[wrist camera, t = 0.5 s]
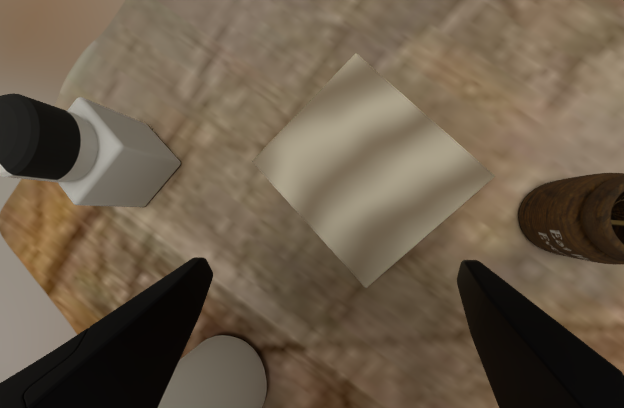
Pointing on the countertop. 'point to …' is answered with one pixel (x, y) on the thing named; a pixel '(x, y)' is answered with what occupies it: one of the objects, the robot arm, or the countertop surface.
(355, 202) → the ash cloth
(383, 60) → the countertop surface
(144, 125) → the medicine bottle
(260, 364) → the alcohol
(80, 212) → the countertop surface
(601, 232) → the utensil holder
